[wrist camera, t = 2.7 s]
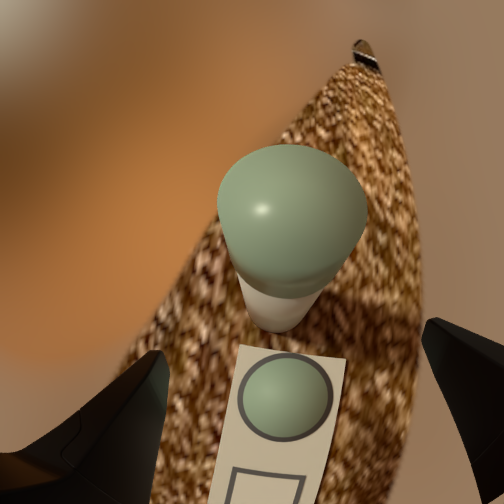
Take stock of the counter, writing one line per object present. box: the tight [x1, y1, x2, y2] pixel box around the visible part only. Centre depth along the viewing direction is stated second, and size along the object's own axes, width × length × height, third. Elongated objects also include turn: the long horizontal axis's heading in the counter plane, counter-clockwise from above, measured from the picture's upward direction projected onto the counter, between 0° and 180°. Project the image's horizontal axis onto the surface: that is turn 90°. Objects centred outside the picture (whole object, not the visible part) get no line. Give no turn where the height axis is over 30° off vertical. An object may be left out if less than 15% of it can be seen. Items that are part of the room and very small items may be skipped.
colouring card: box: [207, 344, 346, 504], centre depth 15 cm, size 17×8×1 cm, turn 170°
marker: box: [217, 145, 367, 333], centre depth 14 cm, size 5×5×13 cm
